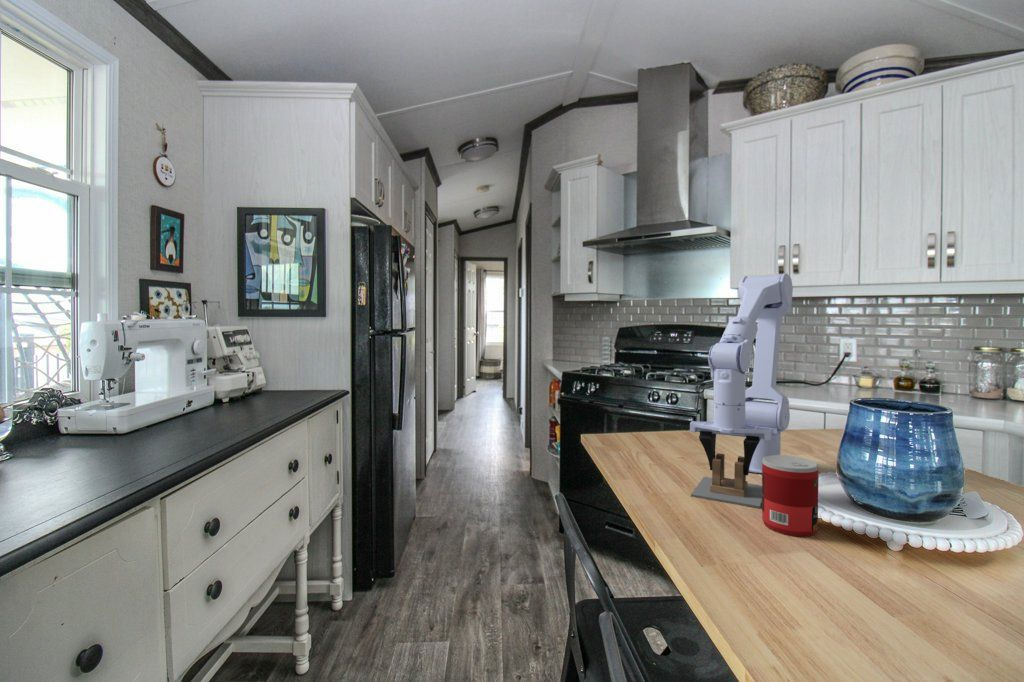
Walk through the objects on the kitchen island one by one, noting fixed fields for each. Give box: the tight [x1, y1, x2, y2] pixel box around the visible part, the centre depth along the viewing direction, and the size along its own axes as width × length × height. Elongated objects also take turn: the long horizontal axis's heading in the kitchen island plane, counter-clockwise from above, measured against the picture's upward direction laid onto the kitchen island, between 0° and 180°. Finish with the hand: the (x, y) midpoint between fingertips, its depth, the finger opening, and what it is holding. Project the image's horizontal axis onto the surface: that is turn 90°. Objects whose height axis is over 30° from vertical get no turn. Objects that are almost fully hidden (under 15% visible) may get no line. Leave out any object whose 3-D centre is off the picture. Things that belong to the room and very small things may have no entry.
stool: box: [710, 453, 749, 497], centre depth 95 cm, size 6×6×6 cm
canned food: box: [761, 454, 819, 537], centre depth 79 cm, size 8×8×11 cm
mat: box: [690, 476, 762, 509], centre depth 95 cm, size 12×12×1 cm
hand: (729, 471), depth 95 cm, fingers closed on stool, 5 cm apart
